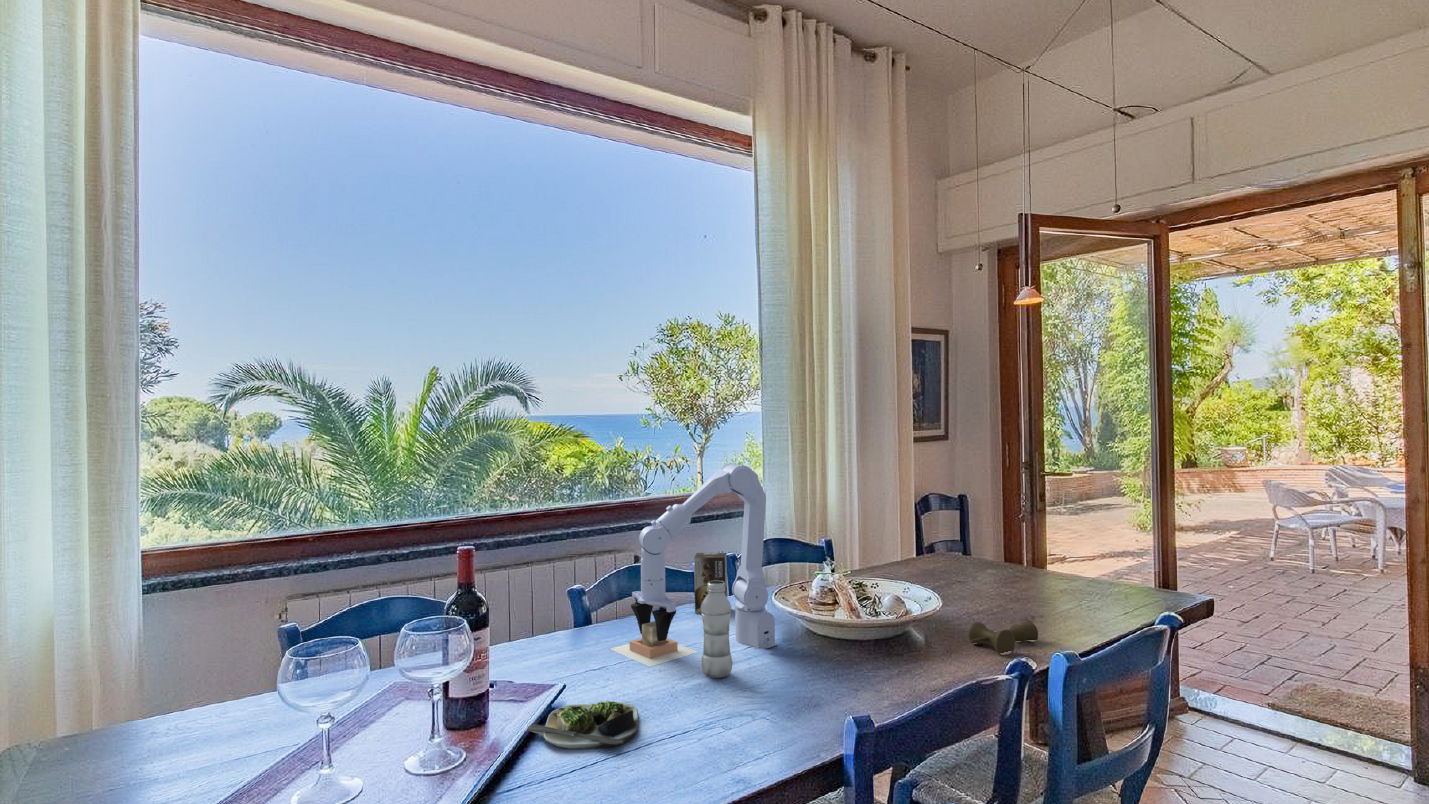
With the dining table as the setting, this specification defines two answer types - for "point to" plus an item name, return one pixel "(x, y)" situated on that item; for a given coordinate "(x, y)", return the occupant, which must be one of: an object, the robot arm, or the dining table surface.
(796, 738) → the dining table surface
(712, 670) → the plastic bottle
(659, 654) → the terracotta holder
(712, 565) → the coffee box
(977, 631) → the olive double spool shape
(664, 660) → the cream flat mat
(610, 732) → the salad plate
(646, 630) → the birch peg
